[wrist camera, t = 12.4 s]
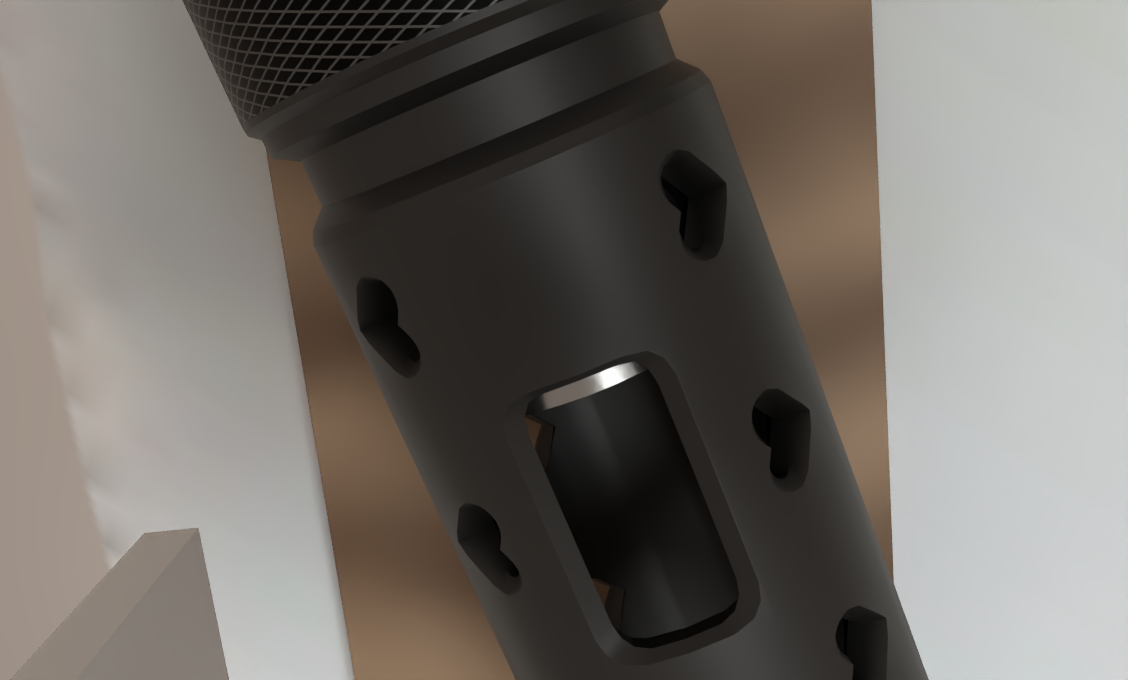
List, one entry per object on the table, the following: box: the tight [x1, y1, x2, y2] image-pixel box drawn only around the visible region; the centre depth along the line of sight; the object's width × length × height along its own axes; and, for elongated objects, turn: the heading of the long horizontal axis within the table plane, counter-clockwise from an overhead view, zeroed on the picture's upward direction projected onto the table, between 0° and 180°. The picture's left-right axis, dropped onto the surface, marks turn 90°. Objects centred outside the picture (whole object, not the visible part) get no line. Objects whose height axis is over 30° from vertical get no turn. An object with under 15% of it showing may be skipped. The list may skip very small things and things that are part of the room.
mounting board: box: [266, 0, 894, 680], centre depth 28 cm, size 36×16×4 cm, turn 6°
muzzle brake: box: [183, 0, 928, 680], centre depth 24 cm, size 10×28×10 cm, turn 22°
